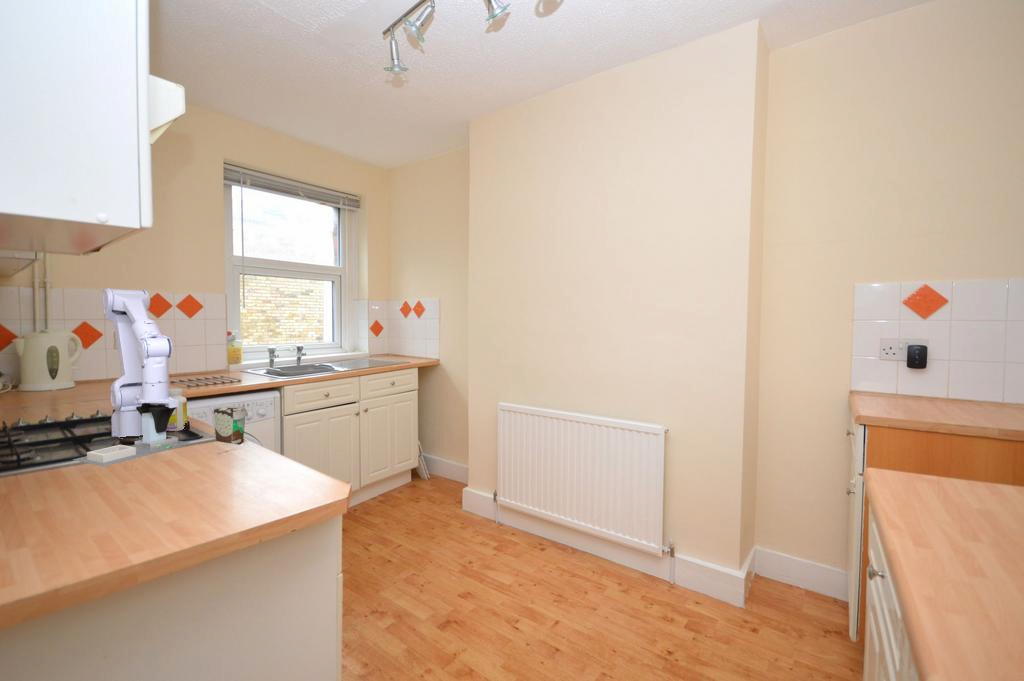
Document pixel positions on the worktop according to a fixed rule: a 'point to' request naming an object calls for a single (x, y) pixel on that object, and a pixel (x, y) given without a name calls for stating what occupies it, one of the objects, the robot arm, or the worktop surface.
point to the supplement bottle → (178, 411)
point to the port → (157, 443)
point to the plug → (150, 429)
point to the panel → (138, 454)
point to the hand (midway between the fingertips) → (156, 431)
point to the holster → (111, 453)
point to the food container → (229, 423)
